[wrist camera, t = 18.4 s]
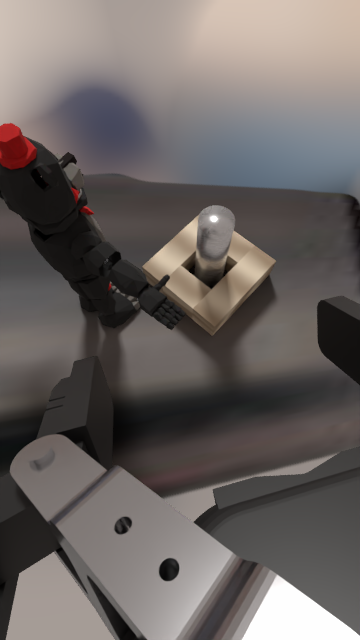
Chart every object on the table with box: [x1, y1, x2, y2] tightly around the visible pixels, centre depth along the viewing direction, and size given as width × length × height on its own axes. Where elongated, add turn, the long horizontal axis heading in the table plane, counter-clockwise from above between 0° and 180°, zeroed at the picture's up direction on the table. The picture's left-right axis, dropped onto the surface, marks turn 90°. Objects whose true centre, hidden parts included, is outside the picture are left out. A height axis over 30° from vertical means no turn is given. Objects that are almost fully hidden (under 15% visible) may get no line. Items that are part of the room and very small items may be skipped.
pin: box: [194, 206, 235, 290], centre depth 45 cm, size 4×4×14 cm
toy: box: [0, 123, 186, 330], centre depth 36 cm, size 30×8×30 cm, turn 51°
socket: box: [142, 214, 276, 336], centre depth 50 cm, size 14×14×4 cm
